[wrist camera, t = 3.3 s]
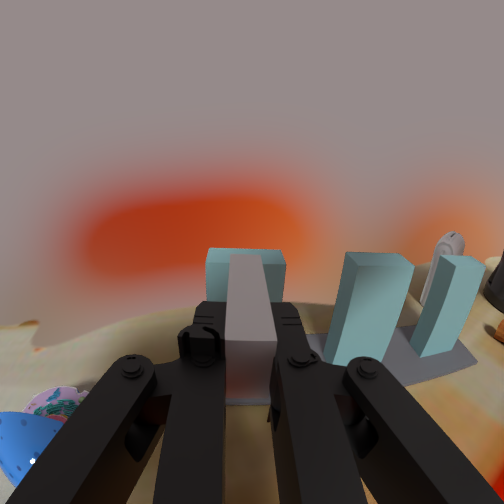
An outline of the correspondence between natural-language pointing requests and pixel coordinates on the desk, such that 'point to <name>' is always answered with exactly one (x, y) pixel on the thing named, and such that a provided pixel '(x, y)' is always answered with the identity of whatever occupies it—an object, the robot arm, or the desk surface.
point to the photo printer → (445, 246)
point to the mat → (395, 361)
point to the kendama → (500, 332)
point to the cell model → (34, 429)
